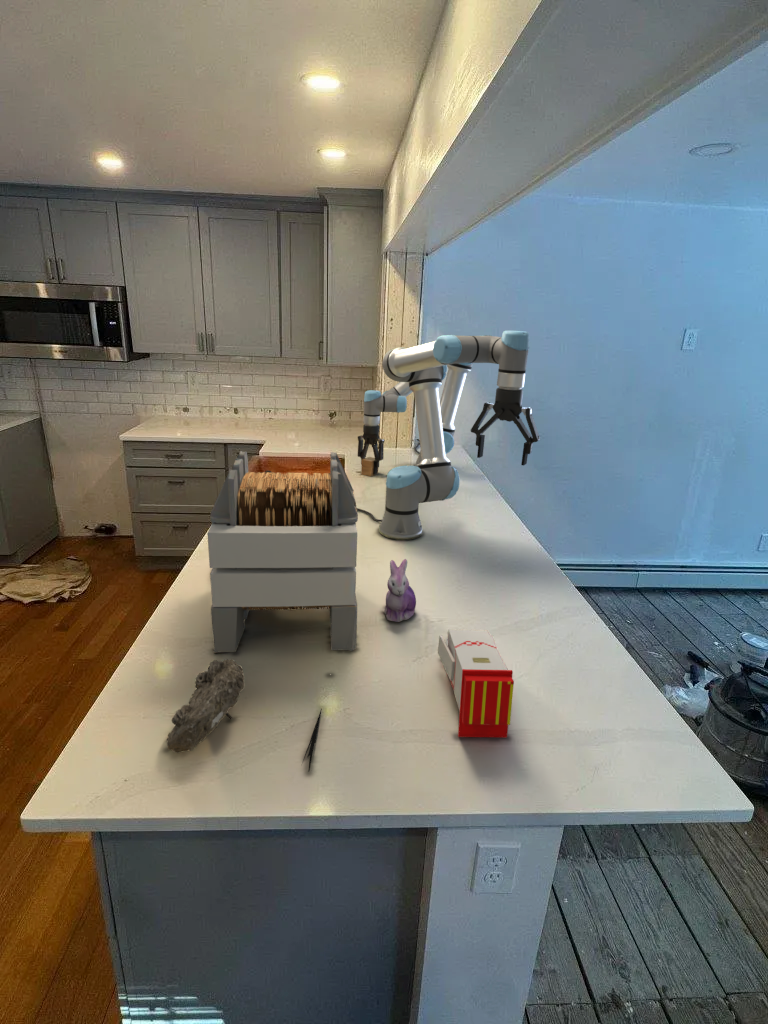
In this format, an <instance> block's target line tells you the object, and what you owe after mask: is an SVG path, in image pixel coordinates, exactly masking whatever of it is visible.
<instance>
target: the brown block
mask: <svg viewBox="0 0 768 1024" xmlns="http://www.w3.org/2000/svg"><path fill="white" fill-rule="evenodd" d="M374 461H375V457H372V456H368V457H367V456H366V457H365V459H362V465H361V467H360V468H361V470H360V474H361V475H362V476H368V477H373V476H374V475H373V466H374ZM378 474H379V472H378V473H377V474H376V475H378Z"/></svg>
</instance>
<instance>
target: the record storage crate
mask: <svg viewBox="0 0 768 1024" xmlns="http://www.w3.org/2000/svg"><path fill="white" fill-rule="evenodd" d="M329 465H330V466H329V467H330V469H329V470H330V472H324V473H321V472H313V474H309V473H308V472H286V473H285V472H284V473H283V472H274V471H273V472H272V471H271V472H267V473H265V471H263V472H260V471H259V472H258V471H257V472H255V471H249V459H248V451H242V450H240V451H239V453H238V455H237V457H236V458H235V460H234V463H233V465H232V467H231V468H230V469H229V471H228V473H227V475H226V477H225V480H224V482H223V484H222V487H221V489H220V491H219V493H218V496H217V498H216V500H215V502H214V504H213V507H212V508H211V511H210V514H209V519H210V523H211V525H210V527H209V529H208V531H207V532H206V534H207V548H208V562H209V563H208V565H209V569H211V570H210V573H209V575H210V576H209V577H210V590H211V591H210V592H211V593H210V594H211V606H210V617H211V633H212V637H213V638H212V639H213V649H212V652H213V653H214V654H215V653H216V654H220V653H236V652H237V649H238V647H239V645H240V642H241V639H242V637H243V635H244V632H245V625H246V624H245V621H247V619H248V615H249V611H268V610H270V611H273V610H274V611H275V610H277V611H278V610H279V611H280V610H284V611H286V610H290V611H291V610H294V611H295V610H325V609H326V610H329V619H330V621H329V622H330V623H329V625H330V626H329V627H330V628H329V629H330V650H331V651H351V652H353V651H354V650H355V649H357V638H358V635H357V631H358V602H357V601H358V600H357V593H356V590H357V589H356V588H357V569H356V568H357V555H358V553H357V551H358V529H357V522H358V519H359V513H358V510H357V508H358V507H357V502H356V497H355V493H354V488H353V486H352V484H351V481H350V479H349V478H348V475H347V473H346V471H345V469H344V466H343V464H342V461H341V460H340V458H339V456H338V453H337V452H333V451H330V463H329Z"/></svg>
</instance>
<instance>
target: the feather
mask: <svg viewBox="0 0 768 1024" xmlns="http://www.w3.org/2000/svg"><path fill="white" fill-rule="evenodd" d="M329 675H330V676H331V675H332V674H331V673H330V674H329ZM322 710H323V707H321V708H320V710H319V713H318V716H317V719H316V723H315V725H314V728H313V731H312V733H311V737H310V739H309V742H308V745H307V748H306V751H305V754H304V757H303V760H302V763H301V767H302V765H303V763H304V761H305V758H308V759H309V760H308V762H307V763H308V764H307V766H308V771H310V770H311V766H312V765H311V764H312V760H313V757H315V756H314V755H315V751H316V749H315V746H317V739H318V733H319V729H320V722H321V717H322V712H323V711H322ZM313 754H314V755H313ZM306 755H307V757H306Z"/></svg>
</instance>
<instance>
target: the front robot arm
mask: <svg viewBox="0 0 768 1024" xmlns="http://www.w3.org/2000/svg"><path fill="white" fill-rule="evenodd" d="M529 349H530V333H529V332H528V331H525V330H523V331H522V330H504V331H503V332H502V335H501V336H495V335H490V334H489V335H487V334H484V335H457V334H456V335H454V334H446V335H445V334H443V335H440V336H439V335H438V337H437V338H436V339H435V340H434V341H429V342H426V343H423V344H418V345H415V346H412V347H401V346H399V347H395V348H391V349H390V350H388V351H387V352H385V354H384V356H383V359H382V363H381V364H382V370H383V372H384V374H385V375H386V377H388V378H389V379H390V380H392V381H394V382H397V383H399V382H409V389H410V390H411V391H413V392H412V393H413V395H414V404H415V411H416V412H415V413H416V422H417V430H418V439H419V440H420V442H419V443H420V445H419V448H420V450H421V457H422V460H421V462H420V463H419V464H418V467H417V466H416V465H412V464H411V465H407V464H405V465H398V466H395V467H393V468H391V469H390V470H389V471H388V472H387V475H386V479H385V504H384V505H385V507H384V508H385V509H384V513H383V515H382V519H378V518H376V517H375V515H374V514H373V513H371V512H369V511H367V510H364V509H361V508H358V507H356V508H357V512H362V513H364V514H367V515H369V516H370V517H371V519H372V520H373V521H375V522H378V523H379V525H378V533H379V534H380V535H381V536H382V537H385V538H387V539H389V540H395V541H410V540H415V539H418V538H420V537H421V536H422V535H423V525H422V520H421V518H420V515H419V507H420V506H419V505H420V504H423V503H431V502H441V501H446V500H449V499H452V498H454V497H455V496H456V495H457V493H458V490H459V488H460V483H461V482H460V473H459V472H458V469H457V468H456V467H454V466H452V462H451V460H450V459H449V458H448V457H447V454H445V446H444V437H443V428H442V419H441V410H440V393H439V390H440V388H441V387H442V385H443V381H444V380H445V379H446V377H447V373H448V367H447V365H449V364H455V363H473V364H495V365H498V370H497V371H498V372H497V379H496V386H497V388H496V390H495V398H494V403H491V401H487V402H484V403H483V407H482V409H481V412H480V414H479V415H478V417H477V419H476V420H475V422H474V423H473V425H472V427H471V428H470V432H471V433H473V434H475V446H476V447H477V454H476V458H477V459H480V458H483V456H484V449H485V439H486V438H485V437H486V435H485V434H484V433H485V432H486V431H487V430H488V429H489V428H490V427H491V426H492V425H493V424H494V423H495V422H496V421H497V420H499V421H502V422H503V421H506V422H513V424H514V425H516V427H517V428H518V430H519V432H520V434H521V435H522V437H523V438H524V440H525V442H524V443H523V449H522V456H521V463H520V464H521V465H520V466H525V465H527V463H528V457H529V455H531V453H532V452H533V444H534V443H537V442H539V441H540V440H541V436H540V434H539V431H538V428H537V424H536V422H535V419H534V416H533V407H532V406H529V407H523V406H522V404H523V396H524V390H523V388H524V387H525V380H526V371H527V365H528V356H529ZM491 410H493V412H494V414H493V415H492V416H491V417H490V418H489V419H488V420H487V422H485V423H484V424H483V425H482V423H483V422H484V420H485V419H486V417H487V415H488V413H490V411H491ZM522 413H523V416H525V420H526V423H527V425H528V428H529V429H528V428H527V427H526V424H525V423H524V422H523V419H522V417H521V416H520V415H521V414H522ZM481 425H482V426H481ZM264 472H265V473H267V472H272V471H271V470H268V469H267V470H265V471H264Z"/></svg>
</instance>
